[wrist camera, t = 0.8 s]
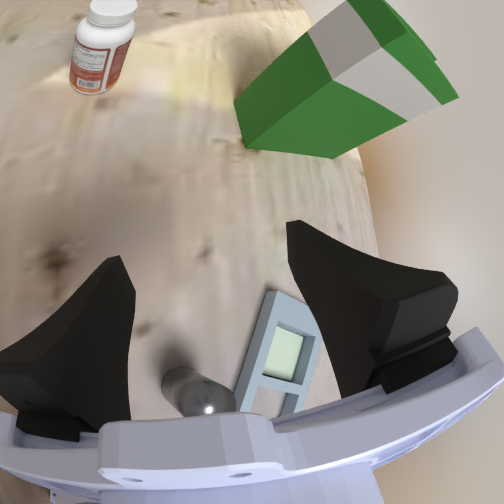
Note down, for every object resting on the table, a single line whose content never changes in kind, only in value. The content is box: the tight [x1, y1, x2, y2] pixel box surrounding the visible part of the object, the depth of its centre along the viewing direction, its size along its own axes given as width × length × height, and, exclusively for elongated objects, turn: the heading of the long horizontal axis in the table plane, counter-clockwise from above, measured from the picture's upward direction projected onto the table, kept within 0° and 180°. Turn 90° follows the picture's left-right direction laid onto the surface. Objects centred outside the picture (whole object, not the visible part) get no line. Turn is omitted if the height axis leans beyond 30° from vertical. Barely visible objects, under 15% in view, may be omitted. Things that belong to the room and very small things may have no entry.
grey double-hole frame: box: [234, 290, 322, 416], centre depth 28 cm, size 19×8×2 cm, turn 160°
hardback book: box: [234, 0, 459, 159], centre depth 29 cm, size 18×7×24 cm, turn 106°
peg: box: [162, 367, 237, 417], centre depth 21 cm, size 4×4×7 cm
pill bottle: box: [70, 0, 138, 95], centre depth 19 cm, size 6×6×11 cm
